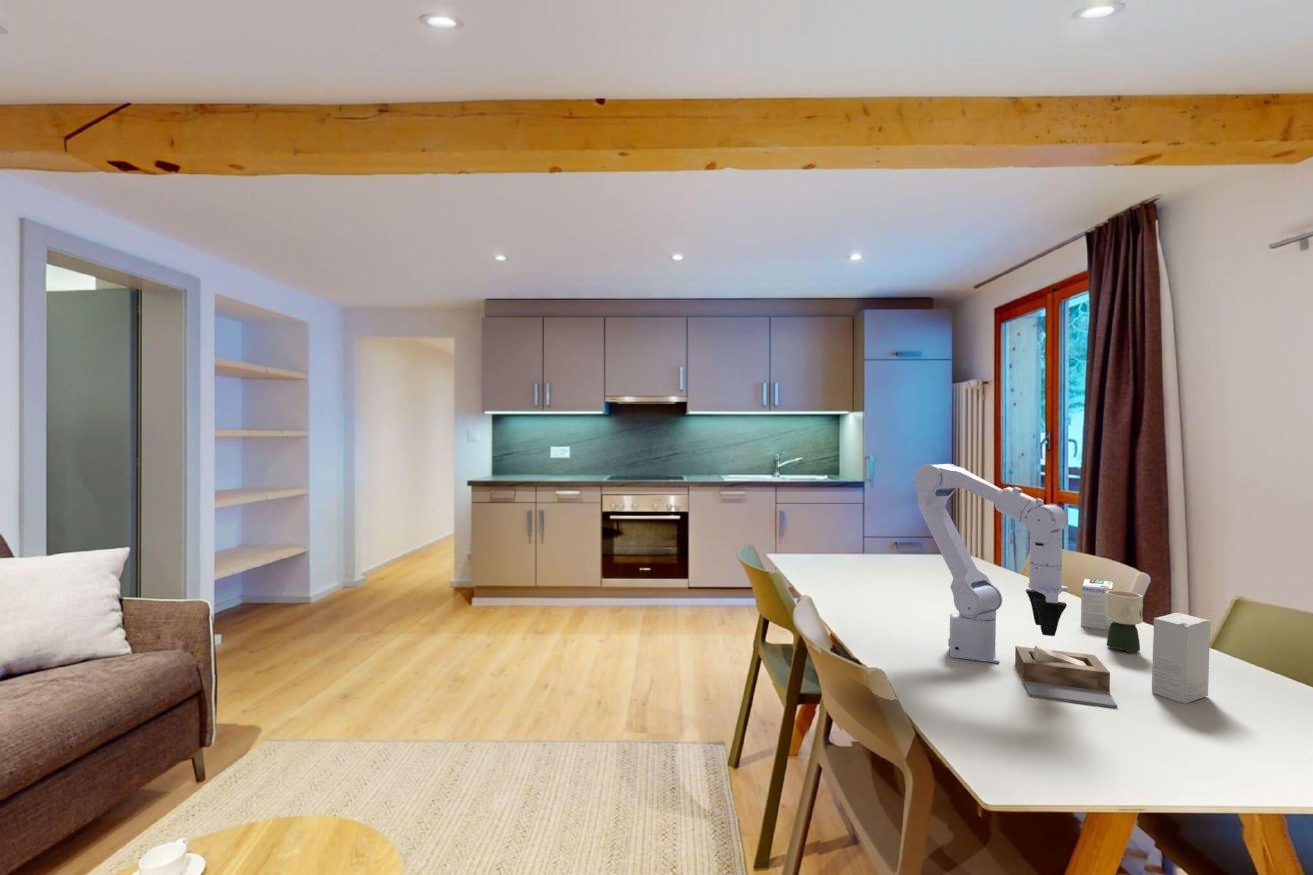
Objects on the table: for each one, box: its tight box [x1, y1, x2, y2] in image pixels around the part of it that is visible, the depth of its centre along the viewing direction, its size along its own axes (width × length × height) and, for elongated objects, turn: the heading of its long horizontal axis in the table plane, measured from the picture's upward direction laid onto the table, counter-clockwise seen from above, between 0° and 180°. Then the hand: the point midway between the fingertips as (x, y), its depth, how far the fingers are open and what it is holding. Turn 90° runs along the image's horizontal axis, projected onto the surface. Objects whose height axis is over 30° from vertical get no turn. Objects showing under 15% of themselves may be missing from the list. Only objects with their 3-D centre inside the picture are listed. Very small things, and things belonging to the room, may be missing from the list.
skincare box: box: [1151, 612, 1211, 705], centre depth 125 cm, size 8×6×15 cm
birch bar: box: [1033, 645, 1087, 666], centre depth 134 cm, size 9×4×2 cm, turn 69°
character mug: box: [1105, 589, 1144, 653], centre depth 152 cm, size 11×7×13 cm, turn 163°
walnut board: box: [1014, 645, 1111, 693], centre depth 134 cm, size 15×11×4 cm
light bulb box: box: [1080, 578, 1114, 631], centre depth 174 cm, size 11×7×11 cm, turn 144°
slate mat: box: [1022, 680, 1118, 709], centre depth 125 cm, size 14×7×1 cm, turn 69°
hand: (1044, 630), depth 135 cm, fingers open, 7 cm apart
